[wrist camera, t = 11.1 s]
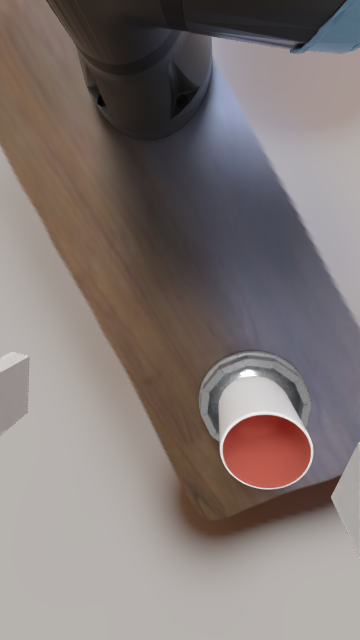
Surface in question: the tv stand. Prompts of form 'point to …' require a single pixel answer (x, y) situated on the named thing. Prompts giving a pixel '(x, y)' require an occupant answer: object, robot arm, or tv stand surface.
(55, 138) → the tv stand surface
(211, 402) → the faceted steel dish
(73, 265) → the tv stand surface
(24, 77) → the tv stand surface
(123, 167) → the tv stand surface
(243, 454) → the cup
